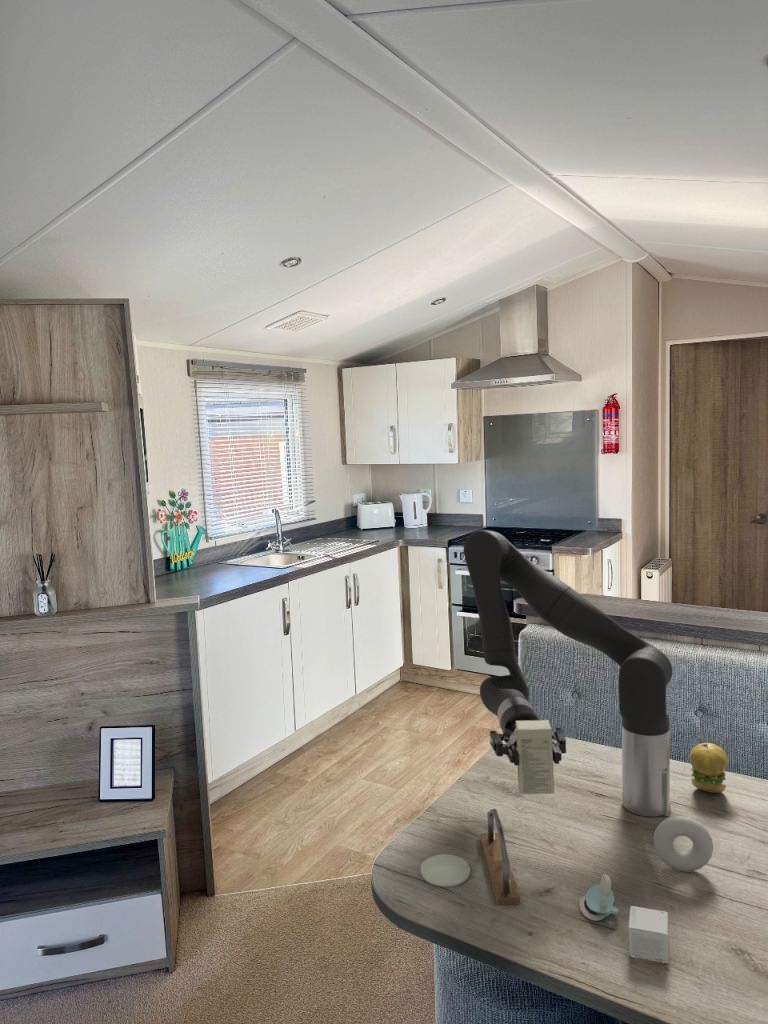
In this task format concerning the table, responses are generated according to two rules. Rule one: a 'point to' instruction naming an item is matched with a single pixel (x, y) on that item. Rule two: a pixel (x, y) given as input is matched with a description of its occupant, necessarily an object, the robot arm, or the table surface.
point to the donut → (683, 859)
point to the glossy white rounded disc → (445, 870)
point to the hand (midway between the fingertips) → (537, 759)
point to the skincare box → (535, 757)
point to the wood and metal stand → (499, 862)
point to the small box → (649, 934)
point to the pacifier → (599, 900)
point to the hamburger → (708, 767)
